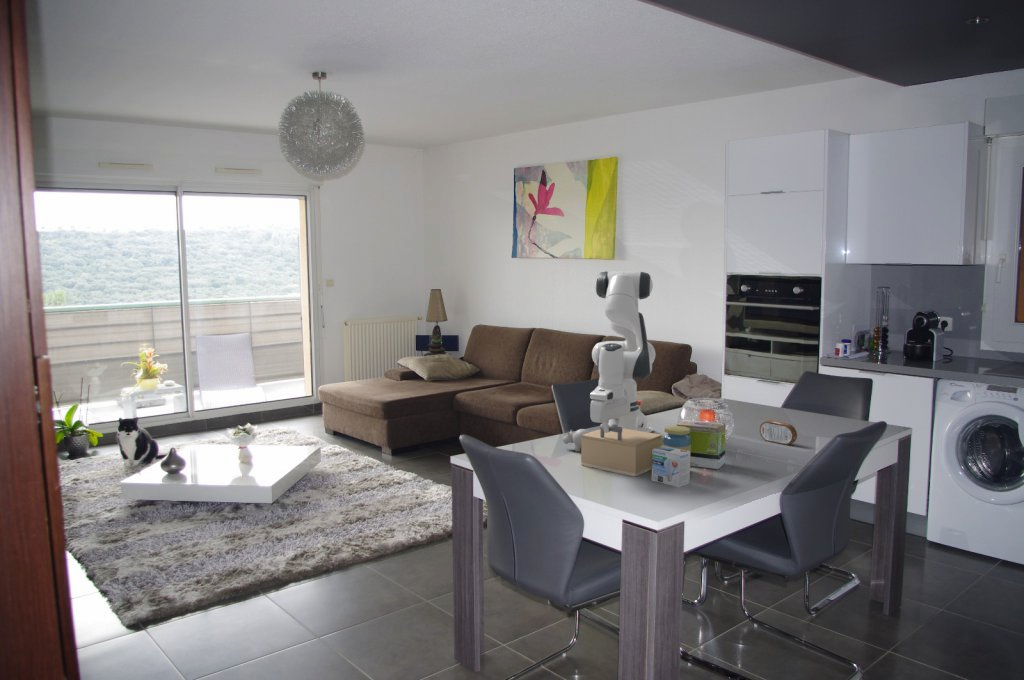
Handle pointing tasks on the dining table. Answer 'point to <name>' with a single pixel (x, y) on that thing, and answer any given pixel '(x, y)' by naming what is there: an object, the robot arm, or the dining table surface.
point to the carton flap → (622, 436)
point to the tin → (778, 432)
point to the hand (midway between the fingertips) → (610, 430)
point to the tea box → (706, 443)
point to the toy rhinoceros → (575, 438)
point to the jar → (678, 438)
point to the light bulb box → (671, 466)
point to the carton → (618, 456)
